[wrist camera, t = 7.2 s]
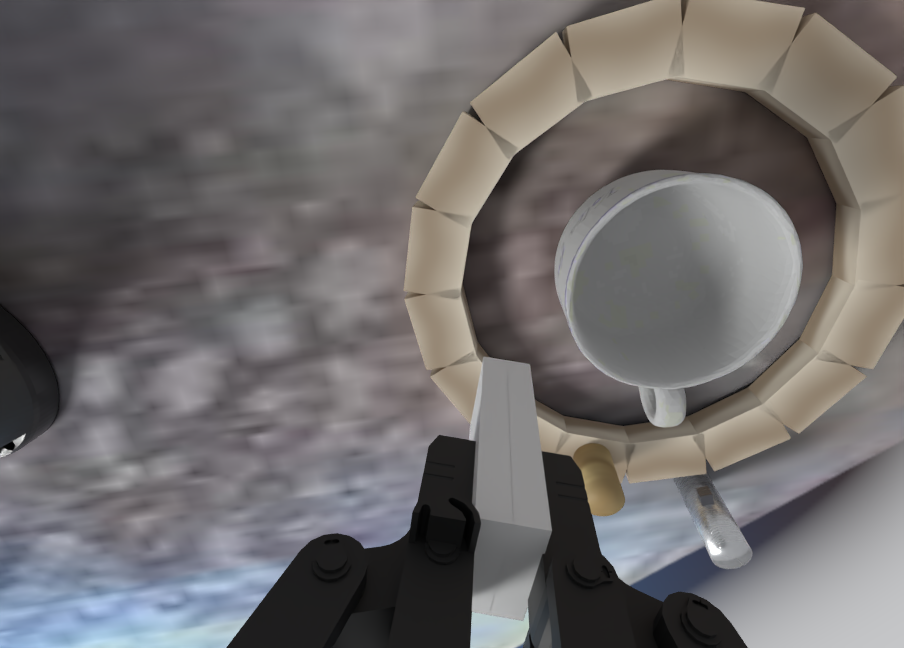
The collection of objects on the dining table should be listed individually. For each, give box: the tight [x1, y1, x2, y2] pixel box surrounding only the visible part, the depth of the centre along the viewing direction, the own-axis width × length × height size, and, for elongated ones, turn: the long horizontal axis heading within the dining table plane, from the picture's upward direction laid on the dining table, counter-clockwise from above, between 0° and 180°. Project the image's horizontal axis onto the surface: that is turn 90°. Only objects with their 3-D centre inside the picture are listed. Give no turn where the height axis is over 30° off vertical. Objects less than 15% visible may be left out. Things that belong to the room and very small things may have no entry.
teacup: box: [555, 170, 803, 428], centre depth 26 cm, size 14×11×8 cm
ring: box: [404, 0, 904, 516], centre depth 27 cm, size 29×29×6 cm
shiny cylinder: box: [674, 472, 752, 569], centre depth 33 cm, size 2×3×7 cm
